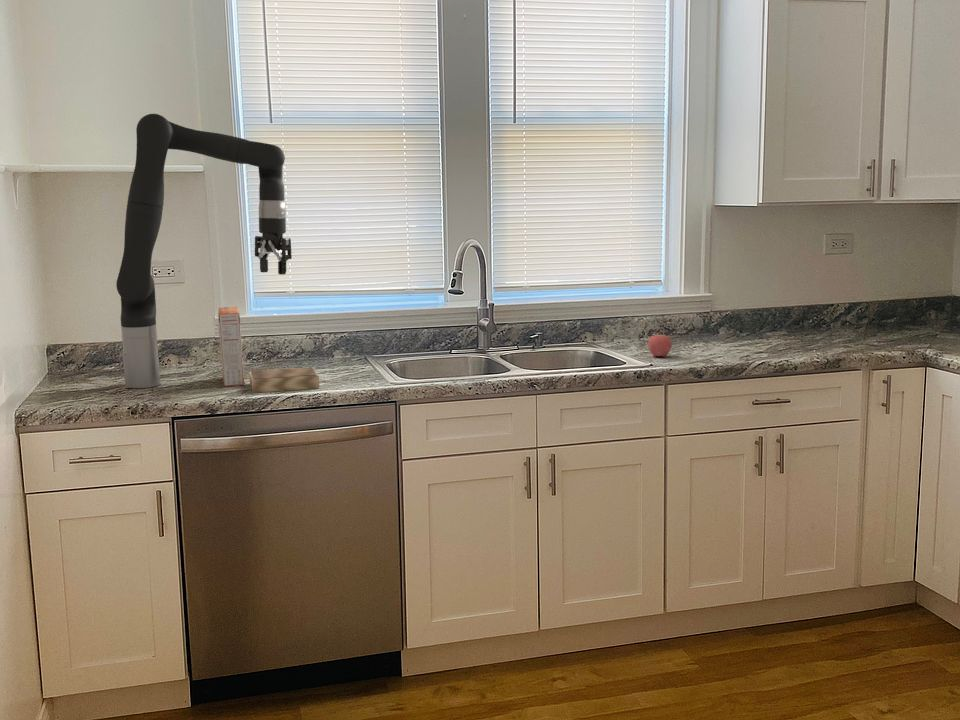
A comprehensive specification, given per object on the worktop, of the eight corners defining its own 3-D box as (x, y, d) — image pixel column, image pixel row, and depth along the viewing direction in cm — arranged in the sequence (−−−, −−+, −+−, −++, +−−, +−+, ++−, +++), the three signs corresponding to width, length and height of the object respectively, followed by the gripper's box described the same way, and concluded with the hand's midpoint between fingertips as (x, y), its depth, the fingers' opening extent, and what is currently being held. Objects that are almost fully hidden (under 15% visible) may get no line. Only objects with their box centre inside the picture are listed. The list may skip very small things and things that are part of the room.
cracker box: (221, 377, 272) (217, 307, 268) (243, 376, 273) (238, 306, 270) (222, 387, 258) (217, 313, 255) (244, 385, 260) (240, 312, 256)
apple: (647, 358, 296) (647, 333, 295) (648, 354, 303) (649, 330, 302) (670, 359, 294) (671, 334, 293) (671, 355, 301) (672, 331, 300)
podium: (252, 392, 251) (252, 379, 250) (250, 383, 263) (249, 370, 262) (319, 388, 256) (318, 374, 255) (313, 379, 268) (313, 366, 267)
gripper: (246, 215, 266) (247, 272, 268) (276, 217, 256) (277, 275, 259) (268, 215, 271) (268, 271, 274) (298, 217, 262) (299, 274, 265)
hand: (273, 273), depth 267 cm, fingers open, 8 cm apart
